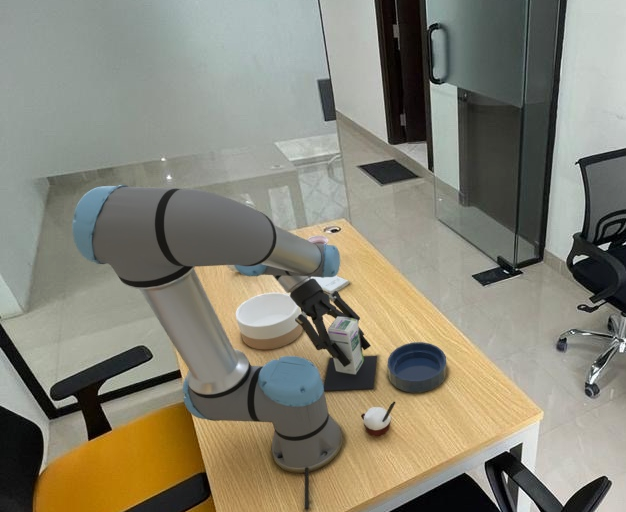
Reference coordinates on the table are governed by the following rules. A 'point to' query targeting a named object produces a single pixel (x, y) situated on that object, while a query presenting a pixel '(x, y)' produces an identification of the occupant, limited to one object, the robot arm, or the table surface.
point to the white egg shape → (232, 268)
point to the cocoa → (377, 420)
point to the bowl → (268, 321)
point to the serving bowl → (417, 367)
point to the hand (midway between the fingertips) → (357, 356)
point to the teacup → (318, 239)
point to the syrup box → (347, 343)
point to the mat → (351, 376)
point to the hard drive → (331, 283)
